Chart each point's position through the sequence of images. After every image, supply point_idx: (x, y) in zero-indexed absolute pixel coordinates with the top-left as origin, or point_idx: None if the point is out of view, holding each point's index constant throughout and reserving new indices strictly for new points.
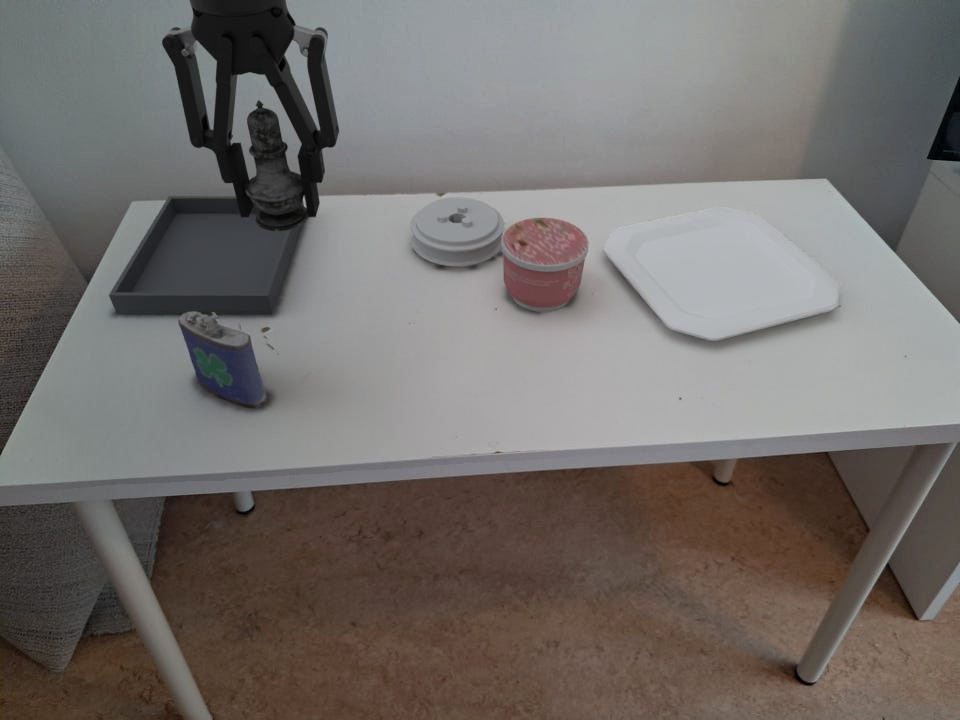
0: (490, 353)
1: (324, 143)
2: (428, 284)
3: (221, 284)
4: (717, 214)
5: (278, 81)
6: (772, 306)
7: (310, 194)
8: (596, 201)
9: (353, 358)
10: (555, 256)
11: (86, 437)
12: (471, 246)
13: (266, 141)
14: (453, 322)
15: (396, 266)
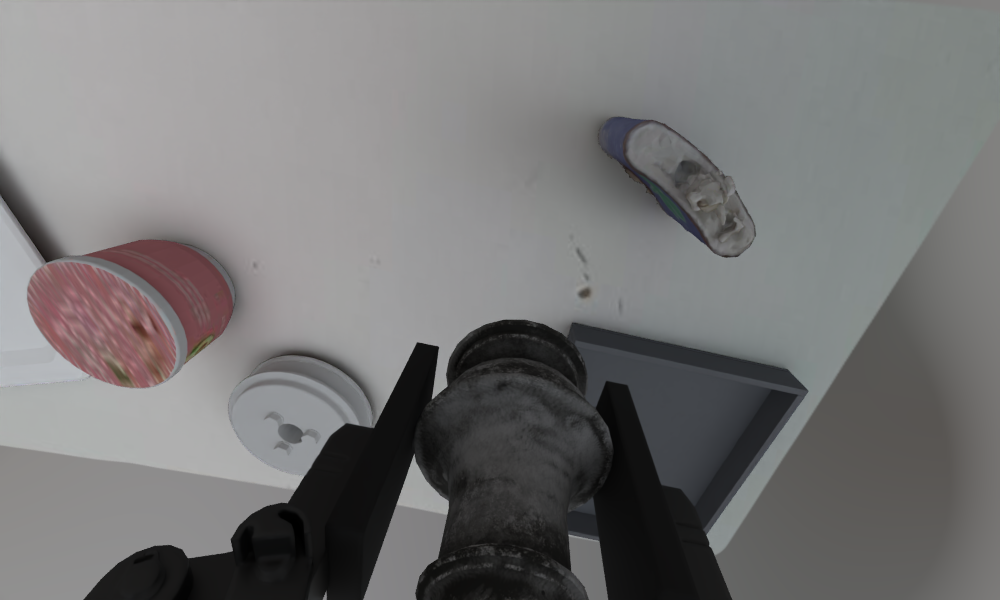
0: (256, 169)
1: (179, 576)
2: (352, 336)
3: (636, 393)
4: None
5: None
6: None
7: (398, 390)
8: (137, 443)
9: (461, 202)
10: (76, 284)
11: (889, 105)
12: (271, 376)
13: None
14: (315, 250)
15: (397, 380)
